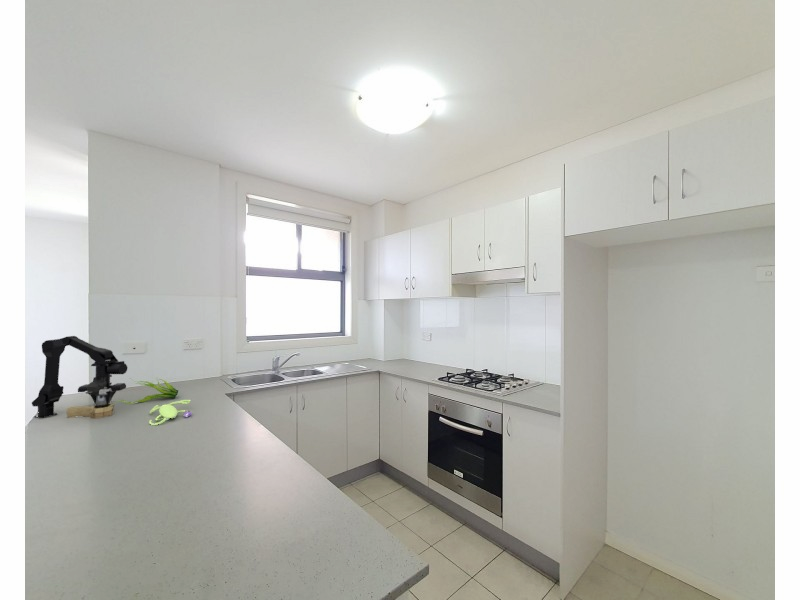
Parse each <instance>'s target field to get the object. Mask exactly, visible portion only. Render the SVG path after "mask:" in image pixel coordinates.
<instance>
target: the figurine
mask: <svg viewBox="0 0 800 600" xmlns="http://www.w3.org/2000/svg"><path fill="white" fill-rule="evenodd" d="M190 402H191V399H181V400H178V401H173V402H170V403H168V404H166V403H165V404H162V405H158V404H156V405H154V406H153V407H152V409H150V410H149V414H153V413H154V412H156V411H159V415H158V416H156V417H155V421H158V422H155V423H154V422H153V420H152V419H149V421H148V422H149V425H150V424H151V425H150V426H152V425H156V426H159V425H162V424H163V423H164V422H166V421H168V420H170V418H171V419H173V418H176V417H177V415H178V413H184V414H182V416H183V417H185V418H189V417H188V416H190V415H191V416H192V414H193V413H192V412H191V411H190V410H185V409H184V410H183V409H182V410H178V409H177V408H176V407H175V406H174V405H177V404H182V405H188V404H190ZM152 412H153V413H152ZM191 416H190V417H191ZM158 424H159V425H158Z"/></svg>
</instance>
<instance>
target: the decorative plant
mask: <svg viewBox="0 0 800 600" xmlns="http://www.w3.org/2000/svg"><path fill="white" fill-rule="evenodd" d="M130 379H131V378H130ZM155 379H156V380H157V385H158V386H157V385H156V384H155V383H152V382H149V381H143V380H140V381H139V382H136V381H135V380H133V379H131V381H133V382H135V383H136V384H138V385H142V386H146V387H150V388H154V389H155V390H157V391H158V392H159V393H156V394H152V395H147V396H145V397H143V398H144V399H143V398H141V399H139V400H136V401H133V402H132V401H126V400H123V399H115V402H117V401H120V402H124V403H125V404H131V403H134V404H136V403H135V402H141V403H144V401H145V402H147V401H151V400H153V399H159V398H170V399H176V396H177V395H178V393H179V390H178V389H176V388H175V387H174V386H173V385H172V384H170V383H169V382H167V381H166V380H164V379H162V378H161V379H160V378H158V377H156V378H155ZM159 380H160V381H163V384H164V385H166V386H163V385H161V384H160V382H159ZM112 402H114V400H112ZM112 402H111V403H112Z"/></svg>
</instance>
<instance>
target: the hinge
mask: <svg viewBox="0 0 800 600" xmlns="http://www.w3.org/2000/svg"><path fill="white" fill-rule="evenodd" d="M114 405H115V404H114V403H112V402H111V403H109V406H106V407H101V408H96V405H87V406H86V405H85V406H68V407H66V418H77V417H76V416H85V417H89V418H90V417H92V418H91V419H101V418H100V417H103V418H107V417H110V416H112V415H114V413H115V411H114V410H115V409H114V407H115V406H114ZM109 415H110V416H109ZM106 416H107V417H106Z"/></svg>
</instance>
